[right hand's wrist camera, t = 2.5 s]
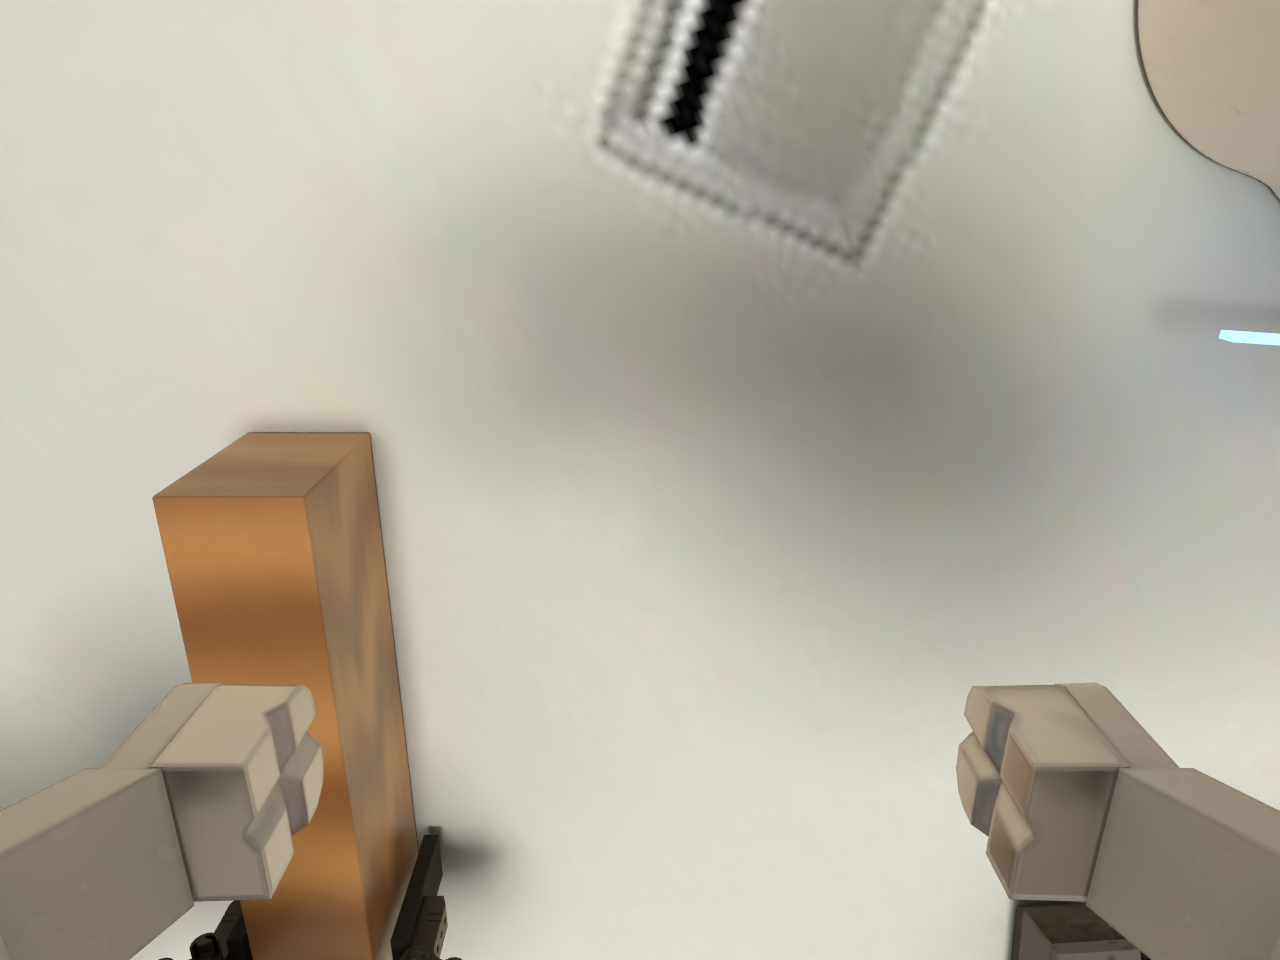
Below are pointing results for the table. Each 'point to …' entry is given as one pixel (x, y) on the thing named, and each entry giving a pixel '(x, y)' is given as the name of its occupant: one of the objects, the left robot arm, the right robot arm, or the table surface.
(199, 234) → the table surface
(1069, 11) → the table surface
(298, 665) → the bar
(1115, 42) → the table surface
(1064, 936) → the toy
